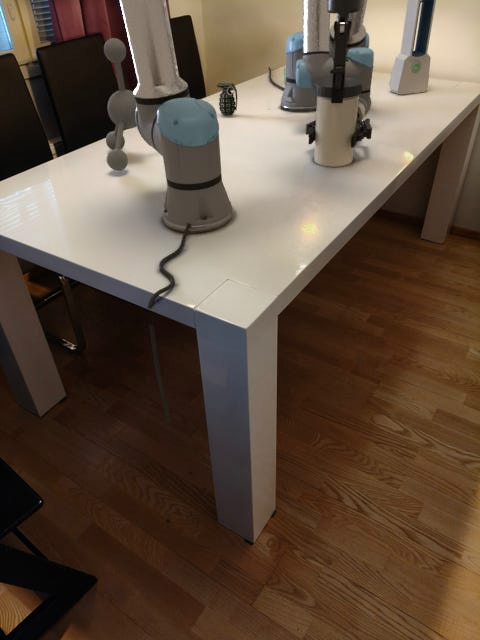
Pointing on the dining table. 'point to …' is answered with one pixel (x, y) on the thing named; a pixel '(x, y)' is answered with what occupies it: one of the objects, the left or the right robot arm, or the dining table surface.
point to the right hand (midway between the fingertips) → (331, 140)
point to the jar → (335, 131)
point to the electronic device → (415, 64)
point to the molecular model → (119, 108)
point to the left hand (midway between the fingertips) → (337, 96)
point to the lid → (350, 87)
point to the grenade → (227, 99)
